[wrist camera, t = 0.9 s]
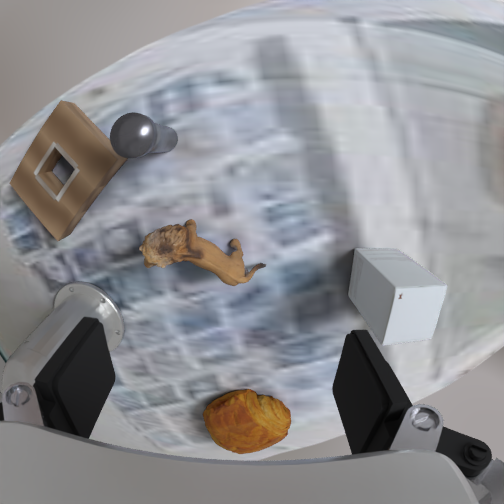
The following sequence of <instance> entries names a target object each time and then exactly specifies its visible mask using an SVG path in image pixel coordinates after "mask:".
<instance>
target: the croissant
mask: <svg viewBox="0 0 504 504" xmlns="http://www.w3.org/2000/svg"><path fill="white" fill-rule="evenodd" d="M203 417H204V421H205V425H206V427H207V429H208V431H209V433H210V435H211V437H212V439H213V440H214V442H215V443H216V444H217V445H219V446H220V447H222V448H224V449H226V450H229V451H232V452H236V453H238V454H244V453H252V452H256V451H260V450H262V449H265V448H267V447H270V446H272V445H274V444H276V443H278V442H279V441H281V440H282V439H284V438H285V437H286V436H287V435H288V429H289V428H290V424H291V418H290V417H291V414H290V410H289V409H288V408H286V407H285V405H284V404H283V402H282V401H279V400H278V399H275V398H273V397H272V396H270V397H269V396H265V395H257V393H256V392H255V391H252V390H251V389H247V390H237V391H234V392H231V393H227V394H225V395H224V396H222V397H220V398H218V399H216V400H214V401H213V402H212V403H211V404H209V405H208V406H207V408H206V410H205V411H204V412H203Z"/></svg>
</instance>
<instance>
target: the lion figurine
mask: <svg viewBox="0 0 504 504" xmlns="http://www.w3.org/2000/svg"><path fill="white" fill-rule="evenodd" d="M230 245H231V247H232V248H234V249H235V250H236V251H235V252H232V254H231V255H230V256H227V255H226V254H225V253H223V252H222V251H221V250H220V249H219V248H218V247H217V246H216V245H215V244H213V243H212V242H210V241H208V240H205V239H203V238H201V237H197V234H196V223H195V221H194V220H192V219H191V220H188V221H187V222H186V227H184V226H181V225H179V224H176V225H174V226H172V225H168V226H166V227H162V228H161V229H157V230H155V231H154V232H153V233H149V234H148V235H147V236H145V240H144V241H143V244H142V245H141V246H140V247H139V250H140V251H141V252H143V255H144V257H145V258H144V265H145V266H146V267H147V268H150V267H153V266H154V265H157V266H158V267H162V268H165V267H166V265H171V264H173V263H176V262H181V261H190V262H191V263H193V264H195V265H196V266H199V267H201V268H203V269H206V270H209V271H211V272H213V273H215V274H216V275H217V276H218V277H219V278H220V279H221V281H222V282H224V283H225V284H228V285H232V286H236V285H237V284H238V283H246V282H248V281H249V280H250V279H251V278H252V276H253V274H254V273H255V271H256V270H258V269H260V268H263V267H265V266H266V264H263V263H260V264H258V265H256V266H255V267H254V268H253V269H252V270H251V271H250V272H248V270H247V269H246V268H244V262H243V260H242V256H243V252H242V249H241V245H240V242H239V241H238V240H237V239H232V241H231V242H230Z"/></svg>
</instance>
